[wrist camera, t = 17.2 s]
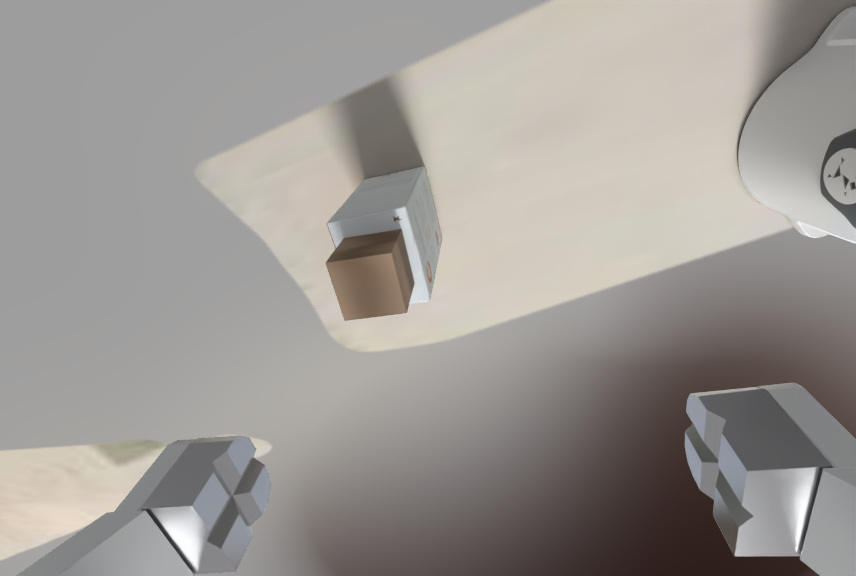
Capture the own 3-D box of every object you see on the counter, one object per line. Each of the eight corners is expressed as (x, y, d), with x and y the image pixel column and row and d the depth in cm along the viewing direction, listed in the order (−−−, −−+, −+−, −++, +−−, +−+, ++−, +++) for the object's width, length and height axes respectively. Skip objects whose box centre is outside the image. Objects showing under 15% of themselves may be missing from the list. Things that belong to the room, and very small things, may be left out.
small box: (363, 178, 44) (324, 221, 32) (425, 164, 43) (406, 203, 31) (386, 252, 47) (357, 314, 36) (443, 241, 46) (432, 302, 35)
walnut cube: (401, 228, 32) (391, 253, 28) (414, 283, 34) (406, 312, 30) (343, 238, 33) (325, 262, 29) (359, 290, 35) (344, 320, 31)
